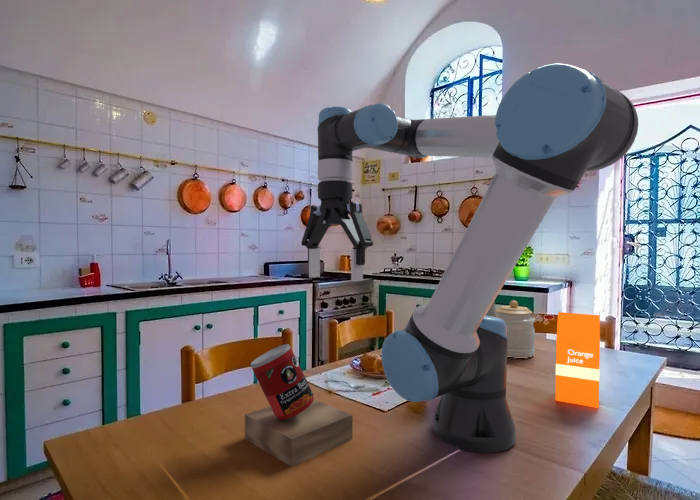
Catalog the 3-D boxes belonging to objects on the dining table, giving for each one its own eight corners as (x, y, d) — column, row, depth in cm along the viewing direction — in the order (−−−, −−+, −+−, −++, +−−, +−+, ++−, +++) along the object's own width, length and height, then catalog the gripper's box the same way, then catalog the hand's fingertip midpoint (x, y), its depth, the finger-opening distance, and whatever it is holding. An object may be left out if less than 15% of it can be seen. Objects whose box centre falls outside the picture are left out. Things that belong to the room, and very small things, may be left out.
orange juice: (557, 390, 106) (558, 309, 105) (599, 397, 101) (600, 313, 101) (555, 400, 99) (556, 314, 98) (599, 408, 94) (600, 318, 94)
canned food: (288, 422, 72) (260, 364, 72) (269, 419, 78) (243, 365, 78) (323, 397, 76) (296, 341, 76) (302, 396, 83) (277, 345, 83)
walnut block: (352, 441, 79) (352, 414, 79) (291, 470, 69) (292, 439, 69) (303, 419, 89) (303, 395, 89) (244, 441, 79) (244, 414, 79)
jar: (489, 348, 148) (489, 297, 147) (528, 350, 146) (529, 298, 146) (496, 358, 135) (497, 302, 134) (539, 360, 133) (540, 303, 133)
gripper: (390, 177, 87) (389, 281, 87) (311, 188, 105) (311, 275, 105) (365, 173, 82) (364, 284, 82) (286, 185, 99) (286, 276, 100)
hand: (334, 279), depth 93 cm, fingers open, 13 cm apart
